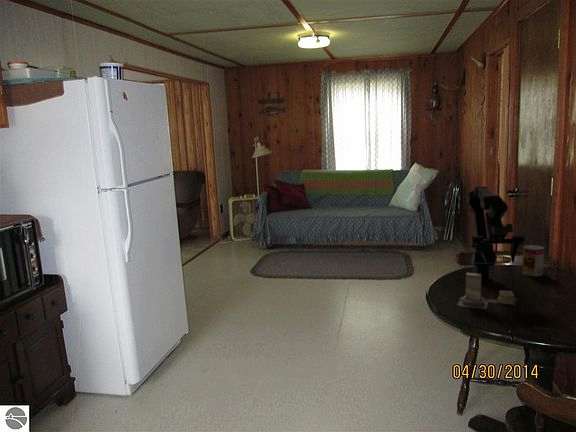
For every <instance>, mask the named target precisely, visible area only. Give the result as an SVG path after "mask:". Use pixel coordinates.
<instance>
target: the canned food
mask: <svg viewBox="0 0 576 432" xmlns="http://www.w3.org/2000/svg"><path fill="white" fill-rule="evenodd" d="M522 249H523V250H522V253H523V254H522V274H523V275H525V276H529V277H541V276H543V274H544V273H543V271H544V252H545V250H544V249H545V247H544V246H542V245H536V244H527V245H526V244H525V245H523V248H522Z"/></svg>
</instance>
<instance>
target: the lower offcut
mask: <svg viewBox="0 0 576 432" xmlns="http://www.w3.org/2000/svg"><path fill="white" fill-rule="evenodd" d="M498 295H499V294H498ZM498 297H499V303H498V304H500V303H505V304H504V305H508V304H514V300H507V299H501V298H500V295H499V296H498Z"/></svg>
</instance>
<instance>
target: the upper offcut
mask: <svg viewBox="0 0 576 432" xmlns="http://www.w3.org/2000/svg"><path fill="white" fill-rule="evenodd" d="M498 293H499V294H498V295H500V298H501V299H507V300H514V299H515V294H514V293H513V291H512V290H499V292H498Z"/></svg>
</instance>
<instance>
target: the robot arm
mask: <svg viewBox="0 0 576 432" xmlns="http://www.w3.org/2000/svg"><path fill="white" fill-rule="evenodd" d="M466 204H467V206H468V210H469V211H470V212H471V213H472V214H473V219H474V220H473V221H474V230H475V235H473V236H471V239H470V241H469V248H473V249H474V250H473V252H472V256H471V264H472V265H473V266H474V267H475V273H476V274H481V281H492V280H494V279H493V277H492V276H491V274H490V273H491V271H490V270H491V267H495V264H496V260H497V254H496V252H495V251H494V245H506V244H507V245H510V247H509V252H510V260H511V261H510V262H511V264H514V262H515V258H516V254H517V251H518V250H519V249H520V248H522V247H524V244H525V243H526V238H525V236H524V235H512V237H511V238H507V236H508V234H509V233H513V232H514V227H513V224H512V223H506V224H505V225H504V223H503V219H502V218H504V216H505V215H506V212H507V211H508V208H509V206H508V204H507V203H506V202H505V201H504V200H503V198H502V197H501V195H500V194H494V193H492V192H490V190H489V189H488V186H476V187H475V186H474V188H473V190H472V191H470V192H469V193H468V194H467V197H466ZM485 211H487V212H485Z"/></svg>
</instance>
